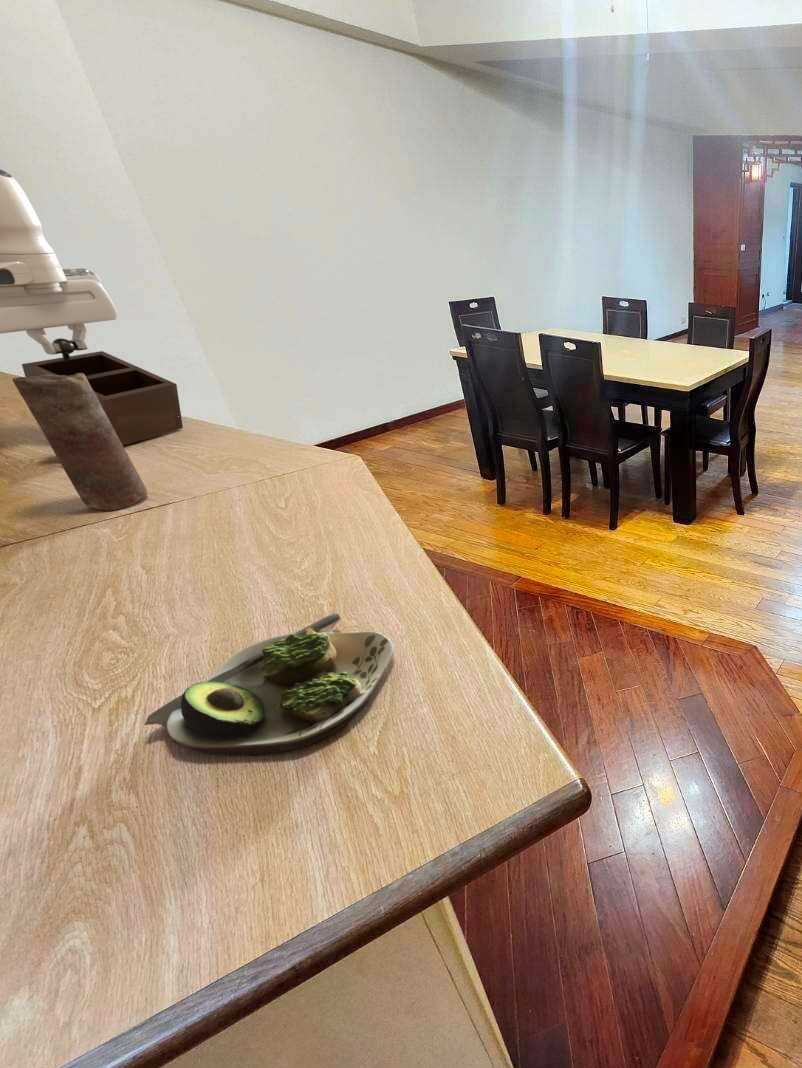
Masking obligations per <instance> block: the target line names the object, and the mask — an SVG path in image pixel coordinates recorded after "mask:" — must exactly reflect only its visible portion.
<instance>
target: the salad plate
mask: <svg viewBox="0 0 802 1068" xmlns="http://www.w3.org/2000/svg"><path fill="white" fill-rule="evenodd" d="M340 615H341V614H339V613H331V614H329V615H327V616H324V617H322V618H320V619H319V620H317V621H315V622H314V623H311V624H309V625H308V626H306V627H304V628H302V629H300V630H298V631H297V632H295V633H287V634H281V635H277V636H273V637H270V638H267V639H263V640H261V641H258V642H255V643H253V644H251V645H248V646H246V647H244V648H242V649H240V650H239V651H238V652H236V653H235V654H233V655H232V657H230V658H229V659H228V660H226V661H225V662H224V663H223V664H222V665H221V666H220V667H219V668H218V669H217V670H216V671H215V672H214V673H213V674H212V675H211V676H210V677H209V678H207V680H206V681H200V682H197V683H194V684H192V685H189V686H188V687H187V688H186V689H185V690H184V692H183V693H182V694H181V695H179V696H176V698H174V699H172V700H171V701H168V702H167V703H165V704H164V705H162V706H161V707H159V708H158V709H156V710H154V711H153V712H152V713H150V714H149V715H148V716H147V718H146V721H145V723H144V724H143V726H149V725H160V726H162V727H163V728H165V730H166V733H167V735H168V738H170V740H171V741H172V742H173V743H175V744H176V745H178V746H180V747H182V748H186V749H188V750H191V751H195V752H198V753H200V754H201V753H202V754H205V755H221V756H238V757H239V756H240V757H243V756H244V757H247V756H248V757H257V756H258V757H259V756H268V755H269V756H271V755H277V754H284V753H288V752H292V751H296V750H299V749H303V748H306V747H309V746H312V745H316V744H318V743H320V742H322V741H324V740H326V739H328V738H330V737H331V736H333V735H335V734H336V733H337V732H339V731H340V730H341V729H342V728H343V727H345V726H346V725H347V724H348V723H349V722H351V721H352V720H353V719H354V718H355V717H356V716H357V715H359V713H360V712H361V711H362V710H364V708H365V707H366V706H367V705H368V704H369V703H370V701H371V700H372V697H373V695H374V691H375V689H376V687H377V686H378V684H379V683H380V682H381V680H382V678H383V677H384V676H385V674H386V672H387V670H388V667H389V665H390V662H391V660H392V658H393V656H394V655H395V652H396V651H395V646H394V642H393V641H392V640H391V639H390V638H389V637H387V636H386V635H385V634H383V633H381V632H377V631H356V632H355V631H353V632H352V631H350V632H333V629H334V628H335V626H336V625H337V624H338V623H339V622H340V621H341V619H342V617H341V616H340Z"/></svg>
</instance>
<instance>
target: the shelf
mask: <svg viewBox="0 0 802 1068" xmlns="http://www.w3.org/2000/svg"><path fill="white" fill-rule="evenodd" d="M69 340H70V339H69ZM69 340H68V339H66V338H62V337H61V338H60V337H59V338H55V339H54V340H53V341H52V343H57V344H59V346H60V349H61V350H62V353H61V355H62V357H58V358H50V359H44V360H39V361H32V362H25V363H21V366H22V370H23V374H24V377H36V376H41V375H48V374H49V375H60V376H62V375H65V376H70V375H75V374H76V373H83V374H84V375H85V376H86V378H87V380H88V382H89V384H90V386H91V387H92V389H93V391H94V393H95V394H96V396H97V398H98V400H99V402H100V404H101V406H102V408H103V410H104V411H105V413H106V415H107V417H108V419H109V421H110V423H111V425H112V427H113V428H114V430H115V432H116V434H117V436H118V438H119V440H120V442H121V443H122V445H123V446H127V445H131V444H134V443H137V442H141V441H143V440H147V439H151V438H154V437H157V436H160V435H164V434H167V433H168V434H169V433H171V432H174V431H177V430H182V429H183V428H184V426H183V420H182V411H181V405H180V398H179V393H178V384H177V383H175V382H173V381H171V380H168V379H166V378H164V377H163V376H160V375H157V374H155V373H153V372H151V371H148V370H146V369H144V368H141V367H139V366H137V365H134V364H133V363H131V362H128V361H126V360H123V359H121V358H119V357H117V356H114V355H112V354H110V353H108V352H106V351H103V350H100V351H93V352H87V353H82V354H75V355H71V354H73V353H74V352H75V351H76V350H75V346H74V344H73V343H72V342H71V341H69ZM178 416H179V417H178Z"/></svg>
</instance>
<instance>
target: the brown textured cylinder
mask: <svg viewBox="0 0 802 1068" xmlns="http://www.w3.org/2000/svg"><path fill="white" fill-rule="evenodd" d="M12 382H13V383H14V385H15V387H16V389H17V391H18V394H19V395H20V396H21V398H22V399H23V402H24V403H25V404H26V406H27V408H28V409H29V411H30V413H31V415H32V417H33V418H34V420H35V421H36V423H37V424H38V426H39V428H40V430H41V431H42V433H43V435H44V436H45V439H46V440H47V443H48V444H49V446H50V448H51V449H52V451H53V453H54V455H55V456H56V458H57V460H58V461H59V463H60V465H61V467H62V468H63V470H64V472H65V474H66V475H67V477H68V479H69V481H70V482H71V484H72V486H73V489H75V491H76V493H77V494H78V496H79V497H80V499H81V501H82V502H83V504H84V505H85V506H86V507H88V508H93V509H96V510H101V511H103V512H104V511H105V512H108V511H109V512H110V511H116V510H120V509H122V508H124V507H128V506H132V505H135V504H136V503H137V502H138V501H139V500H141V499H142V498H144V497H146V496H147V495H148V490H147V488H146V485H145V484H144V483H143V480H142V478H141V475H140V474H139V472H138V470H137V468H136V467H135V465H134V463H133V461H132V460H131V458H130V456H129V455H128V453H127V451H126V449H125V447H124V445H122V443H121V442H120V440H119V438H118V436H117V434H116V432H115V430H114V428H113V427H112V425H111V423H110V421H109V419H108V417H107V415H106V413H105V411H104V410H103V408H102V406H101V404H100V402H99V400H98V398H97V396H96V394H95V393H94V391H93V389H92V387H91V386H90V384H89V382H88V380H87V378H86V376H85V375H84V374H83V373H76V374H75V375H70V376H65V375H62V376H60V375H49V374H48V375H41V376H36V377H25V376H21V377H20V376H18V377H14V378H12Z"/></svg>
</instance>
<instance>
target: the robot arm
mask: <svg viewBox="0 0 802 1068" xmlns="http://www.w3.org/2000/svg"><path fill="white" fill-rule="evenodd" d="M118 315H119V312H118V310H117V308H116V306H115V304H114V302H113V301H112V299H111V297H110V296H109V294H108V292H107V291H106V289H105V288H104V285H103V283H102V280H101V279H100V277H99V276H98V274H96V273H94V272H93V271H91V270H88V269H86V268H73V269H72V268H62V265H61V263H60V261H59V259H58V257H57V255H56V253H55V250H54V249H53V248H52V246H51V245H50V244H49V243H48V241H47V240H46V237H45V236H44V233H43V225H42V223H41V220H40V219H39V217H38V214H37V213H36V211H35V209H34V207H33V205H32V203H31V202H30V199H29V198H28V196H27V194H26V193H25V191H24V189H23V188H22V186H21V185H20V184H19V182H18V181H17V179H15V178H14V177H13V176H12V174H10V173H8V172H6V171H5V170H3V169H1V168H0V335H1V334H8V333H17V332H26V335H27V336H28V337H30V338H31V339H33V340H34V341H35V342H36V343H38V344H39V345H41V347H42V348H43V350H44V352H45V354H47V355H51V356H52V355H53V356H54V355H60V354H62V350H61V349H60V346H59V344H57V343H53V342H52V341H50V340H49V339H47V337H45V336H46V335H47V333H46V331H45V329H50V328H58V327H60V328H61V327H67V328H68V330H71V331H72V337H71V338H72V339H69V341H71V342H72V343H73V344H74V346H75V350H74V351H77V352H80V351H86V350H88V345H87V344H86V342H85V339H86V335H87V327H86V325H85V324H92V323H93V324H94V323H100V322H101V323H102V322H108V321H116V320H117V319H118Z"/></svg>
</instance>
